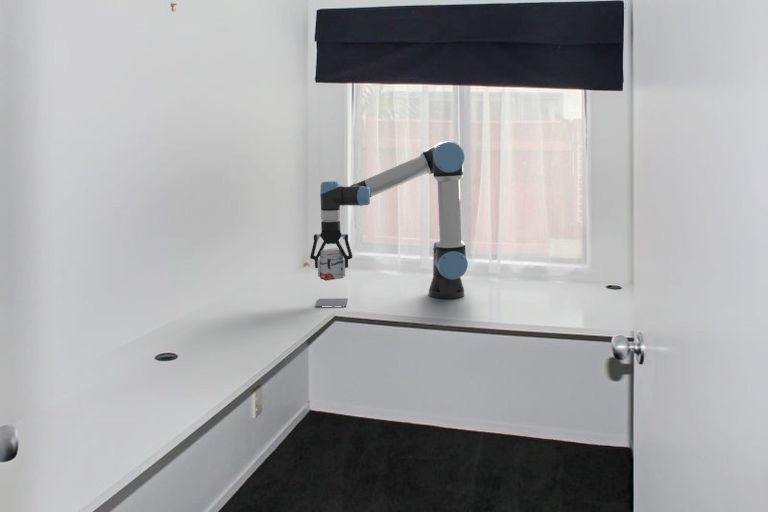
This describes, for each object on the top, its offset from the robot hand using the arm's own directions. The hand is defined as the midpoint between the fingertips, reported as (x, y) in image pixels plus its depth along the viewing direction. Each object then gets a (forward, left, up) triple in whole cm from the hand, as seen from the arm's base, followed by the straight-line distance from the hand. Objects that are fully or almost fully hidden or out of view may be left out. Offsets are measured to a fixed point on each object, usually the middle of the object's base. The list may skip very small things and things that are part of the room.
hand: (331, 275), depth 247 cm
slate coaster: (0, 0, -11) cm, 11 cm away
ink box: (0, 0, -1) cm, 1 cm away
